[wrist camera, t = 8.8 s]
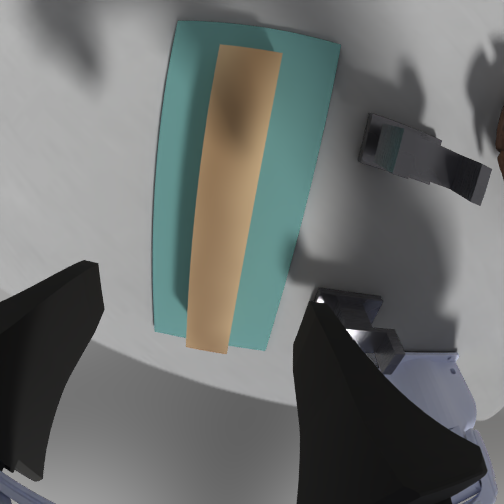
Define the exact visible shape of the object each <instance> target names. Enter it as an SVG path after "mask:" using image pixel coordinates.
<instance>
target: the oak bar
mask: <svg viewBox="0 0 504 504" xmlns="http://www.w3.org/2000/svg"><path fill="white" fill-rule="evenodd" d="M282 54H283V53H279V52H273V51H267V50H261V49H254V48H247V47H240V46H231V45H221V44H220V47H219V52H218V57H217V62H216V68H215V73H214V79H213V84H212V90H211V96H210V102H209V108H208V115H207V121H206V128H205V135H204V142H203V149H202V157H201V164H200V173H199V181H198V189H197V198H196V208H195V218H194V228H193V239H192V251H191V263H190V277H189V293H188V310H187V332H186V347H189V348H194V349H199V350H205V351H210V352H216V353H222V354H227V349H228V344H229V338H230V332H231V327H232V321H233V316H234V310H235V304H236V299H237V293H238V288H239V282H240V277H241V271H242V266H243V260H244V255H245V249H246V244H247V239H248V233H249V228H250V222H251V217H252V212H253V206H254V201H255V195H256V190H257V185H258V179H259V174H260V169H261V163H262V158H263V153H264V148H265V142H266V137H267V132H268V127H269V121H270V116H271V111H272V106H273V101H274V95H275V90H276V85H277V80H278V75H279V70H280V65H281V59H282Z"/></svg>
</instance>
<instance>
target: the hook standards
mask: <svg viewBox="0 0 504 504" xmlns="http://www.w3.org/2000/svg"><path fill="white" fill-rule="evenodd" d="M441 142H442V140H440V139H437V138H435V137H433V136H431V135H428V134H426V133H423V132H421V131H419V130H416V129H414V128H411V127H409V126H406V125H404V124H401V123H398V122H396V121H393V120H390V119H387V118H385V117H382V116H379V115H376V114H373V113H369V117H368V121H367V125H366V130H365V134H364V138H363V142H362V146H361V150H360V154H359V158H358V161H359V162H360V163H363V164H367V165H370V166H374V167H377V168H380V169H384V170H387V171H389V172H391V173H392V174H395V175H398V176H401V177H405V178H408V177H409V178H412V179H415V180H418V181H421V182H423V183H426V184H429V185H430V182H433V183H435V184H438V185H441V186H443V187H446V188H449V189H451V190H452V191H454V192H456V193H457V194H459V195H461V196H462V197H464V198H465V199H467V200H469V201H470V202H472V203H475V204H477V205H479V206H480V205H481V203H482V200H483V197H484V194H485V191H486V188H487V184H488V181H489V178H490V174H491V171H492V169H491V168H489V167H487V166H485V165H483V164H481V163H479V162H477V161H474V160H472V159H469V158H467V157H464V156H462V155H459V154H457V153H455V152H453V151H451V150H449V149H447V148H444V147H442V146H441ZM314 302H320V303H327V304H328V306H329V307H330V308H331V309H332V311H333V312H334V313H335V315H336V316H337V318H338V319H339V320H340V322H341V323H342V324H343V326H344V327H345V328H346V330H347V331H348V332H349V334H350V335H351V336H352V338H353V339H354V340H355V341H356V343H357V344H358V345H359V347H360V348H361V349H362V350H363V352H364V353H375V356H376V359H377V362H378V365H379V368H380V371H381V373H382V374H383V375H391V374H392V373H393V372H394V370H395V369H396V367H397V366H398V365H399V363H400V362H401V360H402V359H403V357H404V356H405V352H404V350H403V347H402V345H401V343H400V341H399V338H398V336H397V334H396V332H395V330H394V329H383V328H372V325H371V324H372V322H373V320H374V318H375V316H376V314H377V313H378V311H379V309H380V306H381V304H382V302H383V300H382V298H381V296H373V295H366V294H359V293H352V292H345V291H338V290H331V289H325V288H319V289H318V292H317V295H316V297H315V300H314Z"/></svg>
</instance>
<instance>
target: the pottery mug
mask: <svg viewBox="0 0 504 504" xmlns="http://www.w3.org/2000/svg"><path fill="white" fill-rule="evenodd" d="M495 145H496V149H497V151H499V152H500V154H499V156H498V163H499V167H500V170H501V172H502V176H503V179H504V106H503V109H502V112H501V115H500V119H499V123H498V128H497V137H496V143H495Z"/></svg>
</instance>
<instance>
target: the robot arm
mask: <svg viewBox="0 0 504 504" xmlns="http://www.w3.org/2000/svg"><path fill="white" fill-rule="evenodd" d="M103 312H104V303H103V296H102V290H101V282H100V274H99V266H98V263H95V262H90V261H86V260H83V261H81V262H78V263H76V264H74V265H72V266H70V267H68V268H66V269H64V270H62V271H60V272H58V273H56V274H54V275H52V276H51V277H49V278H47V279H45V280H43V281H41V282H39V283H38V284H36V285H34V286H32V287H30V288H28V289H26V290H24V291H22V292H20V293H18V294H16V295H14V296H12V297H10V298H8V299H6V300H4V301H1V302H0V504H12V503H11V499H13V500H14V501H16V502H17V503H19V504H55V503H53V502H51V501H49V500H48V499H46V498H44V497H42V496H40V495H38V494H36V493H35V492H33V491H31V490H30V489H28V488H26V487H25V486H23V485H21V484H20V483H18V482H17V481H15V480H13V479H12V478H10V477H9V476H7V475H6V474H4V473H3V472H2V470H3V468H6V469H7V470H9V471H10V472H12V473H13V472H14V470H16V471H18V472H19V473H21V474H23V475H24V476H26V477H27V478H29V479H31V480H33V481H40V480H42V479H43V470H44V462H45V454H46V448H47V444H48V439H49V435H50V430H51V427H52V423H53V420H54V416H55V413H56V410H57V406H58V404H59V401H60V398H61V395H62V393H63V390H64V388H65V385H66V383H67V381H68V379H69V377H70V375H71V373H72V371H73V370H74V368H75V366H76V364H77V362H78V361H79V359H80V357H81V356H82V353H83V352H84V350H85V348H86V347H87V345H88V343H89V342H90V340H91V338H92V336H93V335H94V333H95V331H96V328H97V326H98V324H99V321H100V319H101V317H102V314H103ZM458 357H459V354H458V353H457V352H456V353H414V352H405V356H404V357H403V359H402V360H401V362H400V363H399V365H398V366H397V367H396V369H395V370H394V372H393V373H392V374H391V375H383V374H382V373H381V371H380V368H377V367H376V366H375V365H374V363H373V362H372V361H371V360H370V359H369V358H368V356H367V355H366V354H365V353H364V352H363V350H362V349H361V348H360V347H359V345H358V344H357V343H356V341H355V340H354V339H353V338H352V336H351V335H350V334H349V332H348V331H347V330H346V328H345V327H344V326H343V324H342V323H341V322H340V320H339V319H338V318H337V316H336V315H335V313H334V312H333V311H332V309H331V308H330V307H329V306H328V304H327V303H320V302H313V301H309V303H308V306H307V309H306V312H305V314H304V317H303V320H302V323H301V325H300V328H299V331H298V333H297V336H296V339H295V341H294V344H293V375H294V384H295V392H296V401H297V409H298V417H299V425H300V426H299V427H300V464H299V483H298V495H297V504H458V503H460V502H461V501H464V500H466V499H467V498H469V497H471V496H473V495H475V494H477V493H478V494H477V495H476V496H475V497H473V498H472V499H470V500H468V501H466V502H464V503H463V504H494V503H495V501H496V495H497V494H498V488H497V484H496V481H495V474H494V470H493V467H492V463H491V460H490V457H489V455H488V452H487V449H486V447H485V444H484V442H483V439H482V437H481V435H480V433H479V431H478V430H475V429H474V430H473V426H474V424H475V421H476V404H475V401H474V398H473V396H472V394H471V392H470V390H469V388H468V386H467V384H466V382H465V380H464V378H463V376H462V374H461V372H460V370H459V368H458V366H457V364H456V360H457V359H458ZM10 498H11V499H10Z"/></svg>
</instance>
